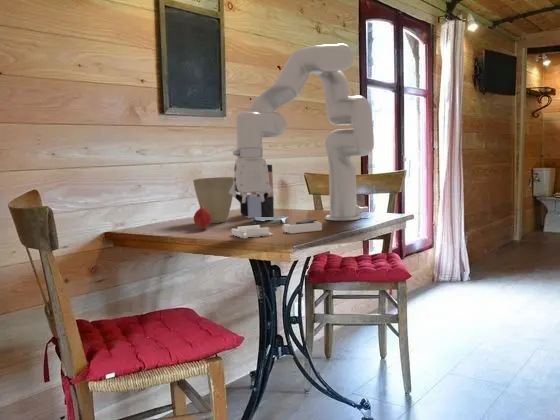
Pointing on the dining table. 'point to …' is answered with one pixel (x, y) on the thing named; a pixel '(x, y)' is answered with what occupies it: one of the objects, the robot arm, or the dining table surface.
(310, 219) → the dark grey bar
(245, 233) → the holder
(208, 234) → the dining table surface
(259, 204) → the block
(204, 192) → the plant pot
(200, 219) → the onion
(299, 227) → the clip
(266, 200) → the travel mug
